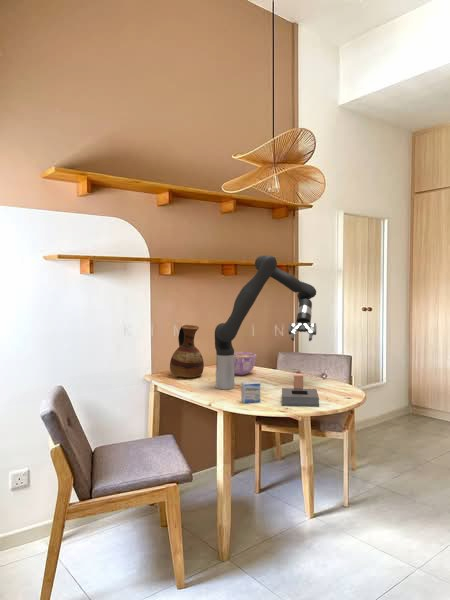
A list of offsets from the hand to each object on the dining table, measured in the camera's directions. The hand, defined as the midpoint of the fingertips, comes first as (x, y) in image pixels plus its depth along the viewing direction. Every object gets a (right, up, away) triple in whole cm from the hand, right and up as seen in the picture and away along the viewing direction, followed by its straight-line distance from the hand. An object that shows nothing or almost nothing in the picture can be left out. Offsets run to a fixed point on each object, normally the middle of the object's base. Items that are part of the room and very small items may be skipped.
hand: (301, 340), depth 230 cm
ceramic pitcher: (-61, -24, +32) cm, 73 cm away
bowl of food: (-30, -24, +38) cm, 54 cm away
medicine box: (-27, -26, -25) cm, 45 cm away
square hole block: (-5, -26, -25) cm, 36 cm away
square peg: (-3, -25, -9) cm, 27 cm away
